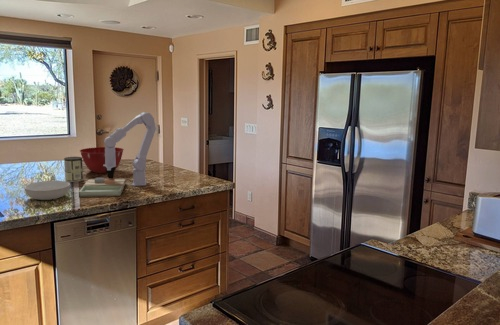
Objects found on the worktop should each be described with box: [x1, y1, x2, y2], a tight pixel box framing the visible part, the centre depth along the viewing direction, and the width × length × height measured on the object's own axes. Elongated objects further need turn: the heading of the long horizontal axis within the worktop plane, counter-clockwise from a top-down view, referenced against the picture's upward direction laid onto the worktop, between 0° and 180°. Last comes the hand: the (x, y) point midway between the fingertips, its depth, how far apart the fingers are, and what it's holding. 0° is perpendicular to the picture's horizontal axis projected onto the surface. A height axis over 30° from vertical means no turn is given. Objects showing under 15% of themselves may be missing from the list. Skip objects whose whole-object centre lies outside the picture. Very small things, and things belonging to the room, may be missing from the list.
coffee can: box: [63, 156, 84, 183], centre depth 239 cm, size 10×10×14 cm
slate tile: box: [94, 177, 106, 183], centre depth 225 cm, size 5×5×2 cm
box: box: [78, 186, 124, 198], centre depth 212 cm, size 13×21×3 cm, turn 103°
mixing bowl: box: [79, 146, 125, 174], centre depth 267 cm, size 28×28×15 cm
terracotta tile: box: [105, 177, 116, 184], centre depth 224 cm, size 5×5×2 cm
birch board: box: [82, 178, 126, 189], centre depth 226 cm, size 16×21×3 cm
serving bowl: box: [23, 180, 71, 201], centre depth 199 cm, size 21×21×7 cm
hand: (110, 180), depth 228 cm, fingers closed
